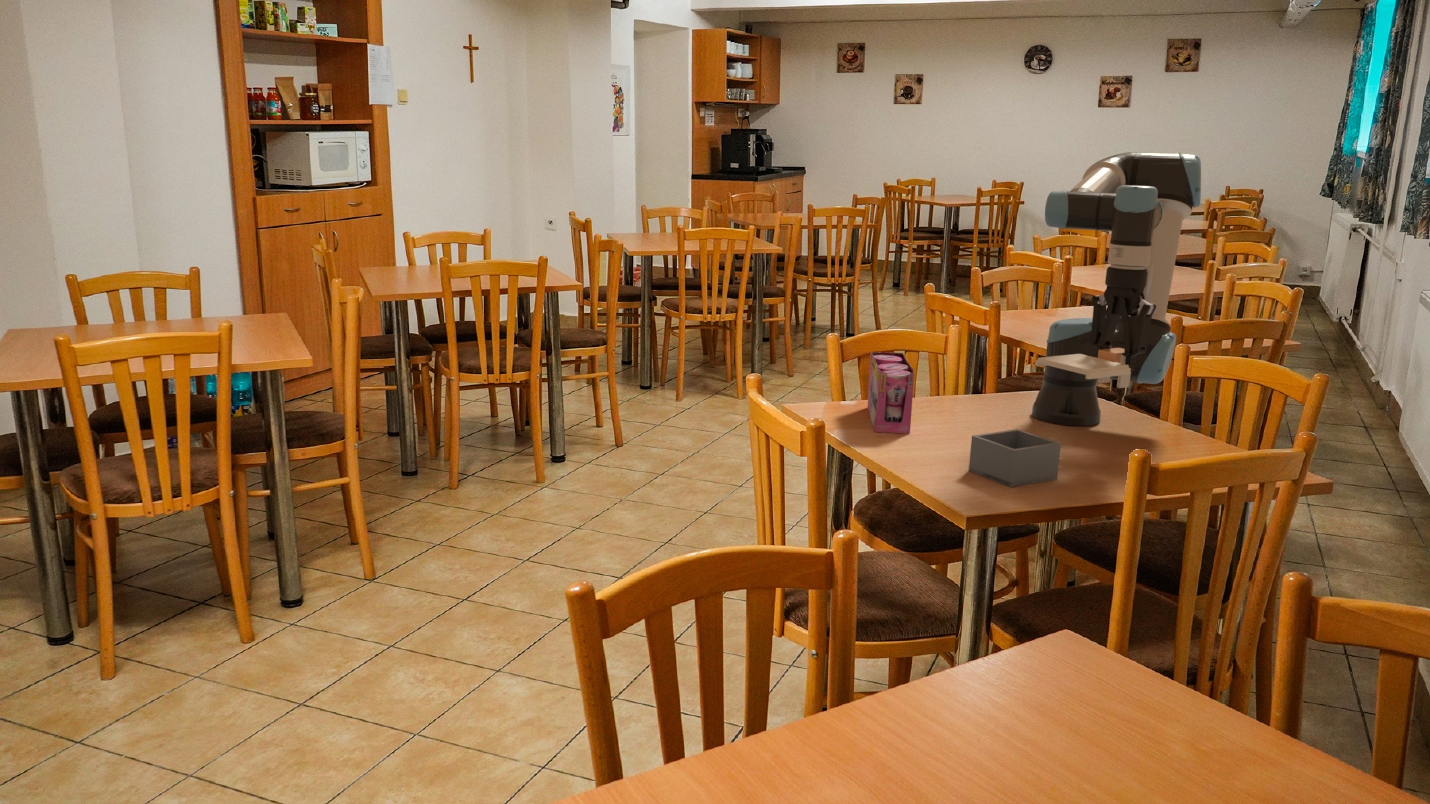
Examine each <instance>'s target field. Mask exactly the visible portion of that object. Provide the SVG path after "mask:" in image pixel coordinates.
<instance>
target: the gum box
mask: <svg viewBox="0 0 1430 804" xmlns="http://www.w3.org/2000/svg"><path fill="white" fill-rule="evenodd" d="M868 374H869V375H868V391H867V392H868V393H867V395H868V396H867V407H868V408H867V407H866V408H867V411H869V412H868V414H869V418H870V422H871V425H872V427H873V430H874V432H876V433H888V434H889V433H891V434H909V435H910V434H911V424H912V422H911V421H912V410H913V396H914V395H913V393H914V378H915V377H914V376H915V372H914V369H913V367H912V366H911V364H910V363H909V362H908V359H907V358H906V356H905V354H904V353H903V352H883V351H881V352H880V351H871V353H870V358H869V373H868Z"/></svg>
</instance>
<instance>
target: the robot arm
mask: <svg viewBox="0 0 1430 804" xmlns="http://www.w3.org/2000/svg"><path fill="white" fill-rule="evenodd" d="M1201 196H1202V162H1201V158H1200V157H1199V156H1198V155H1196V154H1187V153H1181V152H1178V153H1171V152H1170V153H1169V152H1167V153H1166V152H1165V153H1162V152H1159V153H1158V152H1137V151H1131V152H1123V153H1118V154H1114V155H1111V156H1108V157H1105V158H1102V159H1100V160H1098V161H1096V162H1095V163H1093V164H1092V165H1090V166H1089V167H1087V169H1086V170H1085V172H1084V174H1083V176H1082V179H1081V181H1079V182H1078V183H1077V184H1075V186H1073V187H1072V188H1071V190H1069V191H1067V190H1053V191H1051V192H1049V194H1048V196H1047V198H1046V201H1045V207H1044V222H1045V224H1046V225H1047V226H1048V227H1049V228H1057V229H1061V230H1064V229H1068V230H1086V231H1087V230H1089V231H1100V232H1101V231H1102V232H1111V233H1110V240H1109V249H1108V257H1107V264H1108V265H1110V266H1108V267H1107V268H1106V270H1105V271H1106V273H1105V280H1104V284H1105V286H1106V288H1105V290H1104V292H1103V294H1097V295H1092V297H1091V302H1092V307H1093V309H1092V317H1076V318H1067V319H1066V318H1065V319H1060V320H1059V319H1058V320H1056V321H1054V322H1053V323H1051V324H1050V326H1049V330H1048V335H1047V339H1046V352H1045V357H1051V356H1062V355H1072V354H1083V355H1087V356H1091V357H1096V358H1098V351H1099V350H1101V349H1111V348H1123V349H1124V351H1125V353H1122V355H1121V357H1120V363H1122V364H1126V365H1129V368H1131V370H1130V374H1129V375H1120V376H1112V377H1103V378H1095V379H1086V375H1084V374H1080V373H1076V372H1072V371H1068V370H1064V369H1060V368H1056V367H1052V366H1048V365H1047V366H1044V371H1043V372H1044V373H1043V381H1042V385H1041V387H1040V389H1039V391H1038V394H1037V396H1036V397H1035V401H1034V402H1033V404H1032V410H1031V416H1033V418H1035V419H1038V420H1040V421H1043V422H1046V423H1050V424H1056V425H1062V426H1063V425H1064V426H1074V427H1075V426H1077V427H1083V426H1094V425H1097V424H1099V423H1100V422H1101V414H1102V412H1101V411H1102V410H1101V409H1100V406H1099V405H1100V403H1099V398H1098V392H1097V383H1099V384H1106V383H1110V380H1115V381H1116V380H1117V381H1116V382H1117V383H1116V388H1117V389H1123V388H1129V387H1130V383H1131V382H1132V383H1137V384H1150V385H1151V384H1153V385H1156V384H1159V383H1161V382H1162V381H1163V380H1164V379H1165V377H1166V375H1167V373H1168V370H1169V368H1170V365H1171V362H1172V359H1173V355H1174V353H1175V352H1174V351H1175V347H1176V343H1177V334H1175V333H1173V332H1171V328H1172V326H1171V325H1172V324H1170V323H1169V322H1168V320H1167V319H1166V316H1167V310H1168V305H1169V304H1168V303H1169V298H1170V293H1171V288H1172V283H1173V275H1174V270H1175V265H1176V261H1177V260H1176V259H1177V254H1178V248H1179V243H1180V237H1181V232H1182V231H1181V230H1182V228H1183V227H1182V226H1183V222H1184V220H1186V219H1187V218H1189V217H1191V214H1192V213H1193V212H1192V211H1193V209H1194V208H1197V207H1200V206H1201V200H1202V199H1201V198H1202V197H1201Z"/></svg>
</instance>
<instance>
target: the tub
mask: <svg viewBox="0 0 1430 804" xmlns="http://www.w3.org/2000/svg"><path fill="white" fill-rule="evenodd" d="M970 441H971V442H970V453H969V464H968V472H971V473H974V474H976V475H978V476H981V477H983V478H986V479H989V480H991V481H994V482H996V483H999V484H1000V485H1004V486H1007V487H1009V488H1014V487H1015V488H1016V487H1020V486H1026V485H1030V484H1031V485H1032V484H1037V483H1042V482H1048V481H1052V480H1053V481H1054V480H1058V474H1059V473H1058V472H1059V464H1060V455H1061V447H1062V443H1061V442H1058V441H1056V440H1052V439H1050V438H1047V437H1042V436H1040V435H1037V434H1033V433H1031V432H1028V431H1025V430H1021V429H1018V428H1016V429H1008V430H1004V431H996V432H988V433H987V432H986V433H980V434H974V435H971V440H970Z"/></svg>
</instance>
